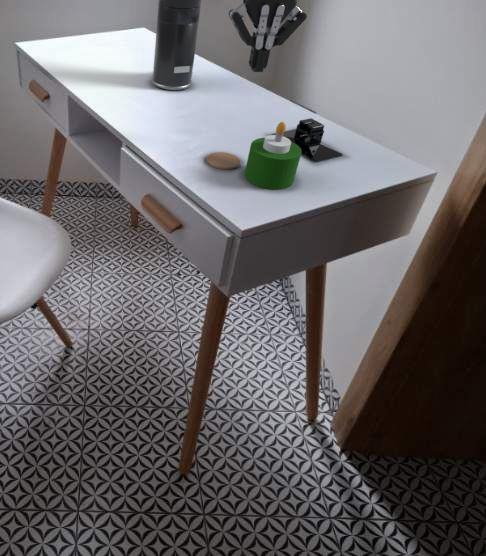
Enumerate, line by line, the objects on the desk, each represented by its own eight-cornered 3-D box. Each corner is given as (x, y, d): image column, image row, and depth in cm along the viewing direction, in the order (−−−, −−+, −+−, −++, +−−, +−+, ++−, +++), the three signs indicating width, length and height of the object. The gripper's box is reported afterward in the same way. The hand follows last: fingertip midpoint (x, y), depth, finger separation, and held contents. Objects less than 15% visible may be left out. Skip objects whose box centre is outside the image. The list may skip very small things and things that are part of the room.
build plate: (270, 136, 102) (275, 113, 99) (298, 130, 105) (304, 108, 102) (314, 162, 94) (321, 138, 91) (343, 155, 96) (351, 131, 94)
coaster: (203, 154, 95) (203, 152, 95) (234, 153, 96) (235, 151, 95) (211, 169, 90) (211, 167, 90) (244, 169, 91) (244, 167, 91)
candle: (235, 169, 91) (246, 114, 84) (275, 163, 93) (289, 109, 87) (260, 192, 85) (274, 135, 78) (303, 185, 87) (320, 129, 81)
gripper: (311, -50, 81) (285, 63, 92) (230, -52, 80) (213, 64, 91) (331, -43, 76) (301, 77, 87) (244, -44, 74) (225, 78, 85)
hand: (256, 70), depth 89 cm, fingers closed
